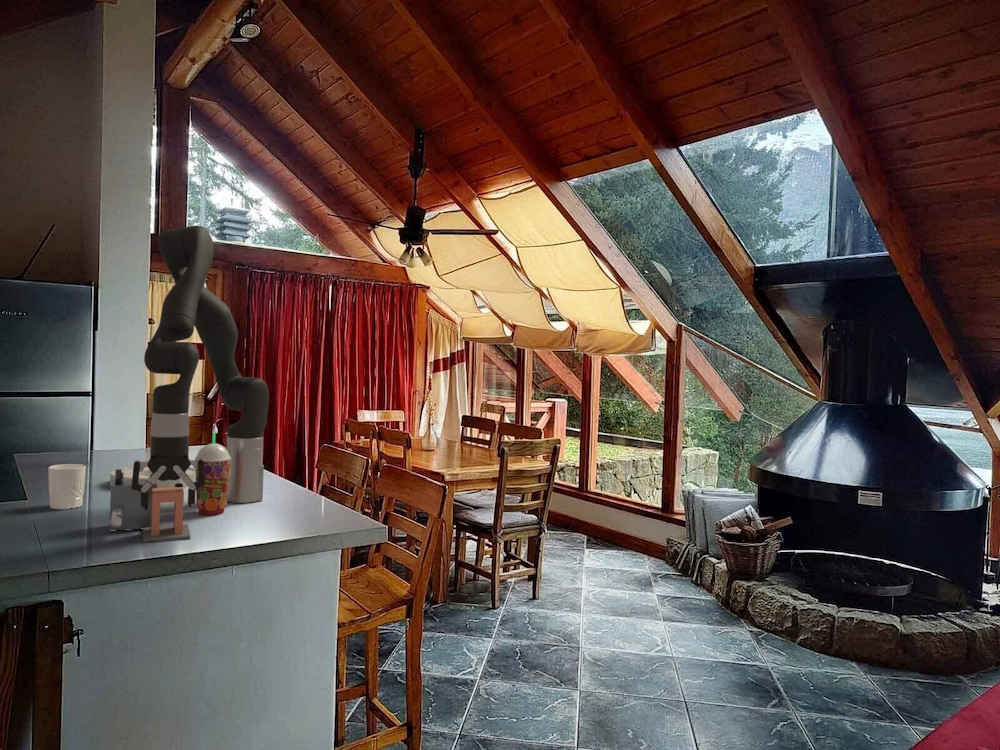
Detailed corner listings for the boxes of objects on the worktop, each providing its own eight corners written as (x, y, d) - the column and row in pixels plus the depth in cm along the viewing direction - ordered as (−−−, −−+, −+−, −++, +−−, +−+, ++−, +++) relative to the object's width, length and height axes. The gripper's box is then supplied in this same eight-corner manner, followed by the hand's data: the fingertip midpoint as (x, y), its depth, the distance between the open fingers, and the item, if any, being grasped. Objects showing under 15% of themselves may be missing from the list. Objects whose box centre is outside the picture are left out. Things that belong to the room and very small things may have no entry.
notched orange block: (181, 527, 154) (182, 487, 153) (182, 533, 148) (183, 492, 148) (151, 529, 151) (152, 488, 151) (151, 535, 145) (152, 493, 145)
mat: (187, 526, 156) (187, 523, 156) (190, 538, 147) (190, 536, 147) (143, 529, 152) (143, 526, 152) (142, 542, 143) (142, 539, 143)
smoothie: (194, 517, 165) (196, 434, 164) (191, 510, 172) (194, 430, 172) (231, 515, 169) (234, 434, 168) (227, 508, 176) (230, 430, 175)
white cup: (91, 505, 172) (93, 466, 172) (60, 511, 165) (61, 470, 164) (71, 501, 175) (72, 462, 175) (39, 507, 168) (41, 466, 168)
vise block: (110, 525, 155) (112, 467, 154) (155, 522, 159) (157, 466, 158) (106, 545, 139) (108, 482, 139) (156, 542, 143) (158, 480, 143)
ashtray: (98, 492, 188) (98, 478, 188) (123, 477, 211) (124, 464, 211) (189, 492, 194) (189, 478, 193) (204, 477, 216) (205, 465, 216)
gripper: (204, 431, 156) (202, 502, 156) (133, 431, 149) (131, 506, 149) (207, 435, 149) (204, 509, 149) (132, 436, 142) (130, 513, 143)
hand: (168, 507), depth 149 cm, fingers open, 8 cm apart
